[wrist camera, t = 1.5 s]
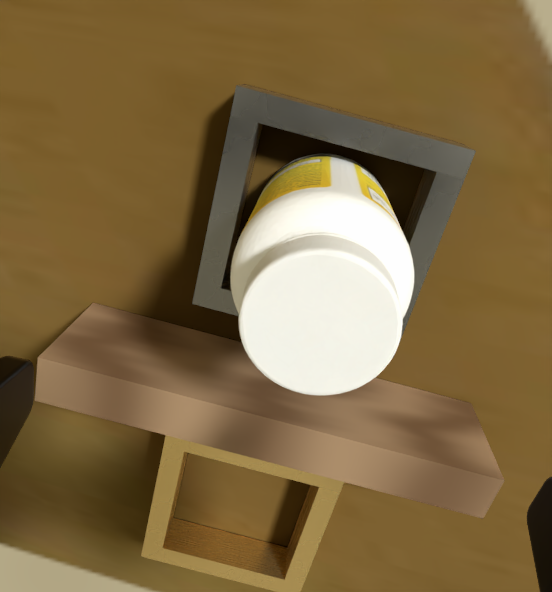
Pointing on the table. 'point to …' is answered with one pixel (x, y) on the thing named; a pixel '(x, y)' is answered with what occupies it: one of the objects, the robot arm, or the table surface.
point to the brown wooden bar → (268, 410)
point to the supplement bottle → (322, 277)
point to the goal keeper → (227, 546)
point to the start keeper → (342, 131)
